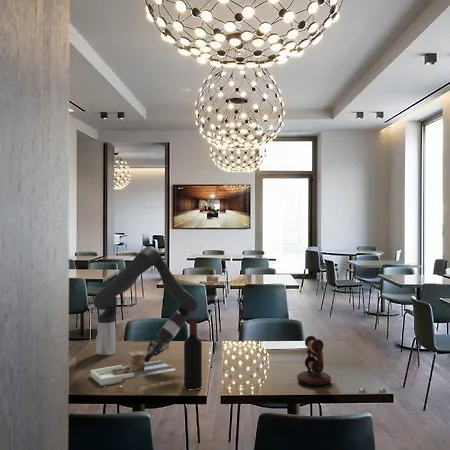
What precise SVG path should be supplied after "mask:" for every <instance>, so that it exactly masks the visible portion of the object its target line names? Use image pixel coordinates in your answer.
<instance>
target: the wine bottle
mask: <svg viewBox="0 0 450 450" xmlns="http://www.w3.org/2000/svg"><path fill="white" fill-rule="evenodd" d="M202 346H203V345H202V340H201V339H200V338H198V336H197V317H193V316H192V317H191V316H190V317H189V336H188V337H187V338H186V339H185V340H184V343H183V358H184V359H183V376H184V377H183V382H184V384H183V388H184V387H185V388H186V389H185V388H184V389H185V390H187V389H197V388H200V387H201V386H202V382H203V380H202V379H203V377H202V376H203V375H202V374H203V373H202V369H203V368H202V367H203V365H202V364H203V359H202V356H203V355H202V354H203V353H202V350H203V347H202Z"/></svg>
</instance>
